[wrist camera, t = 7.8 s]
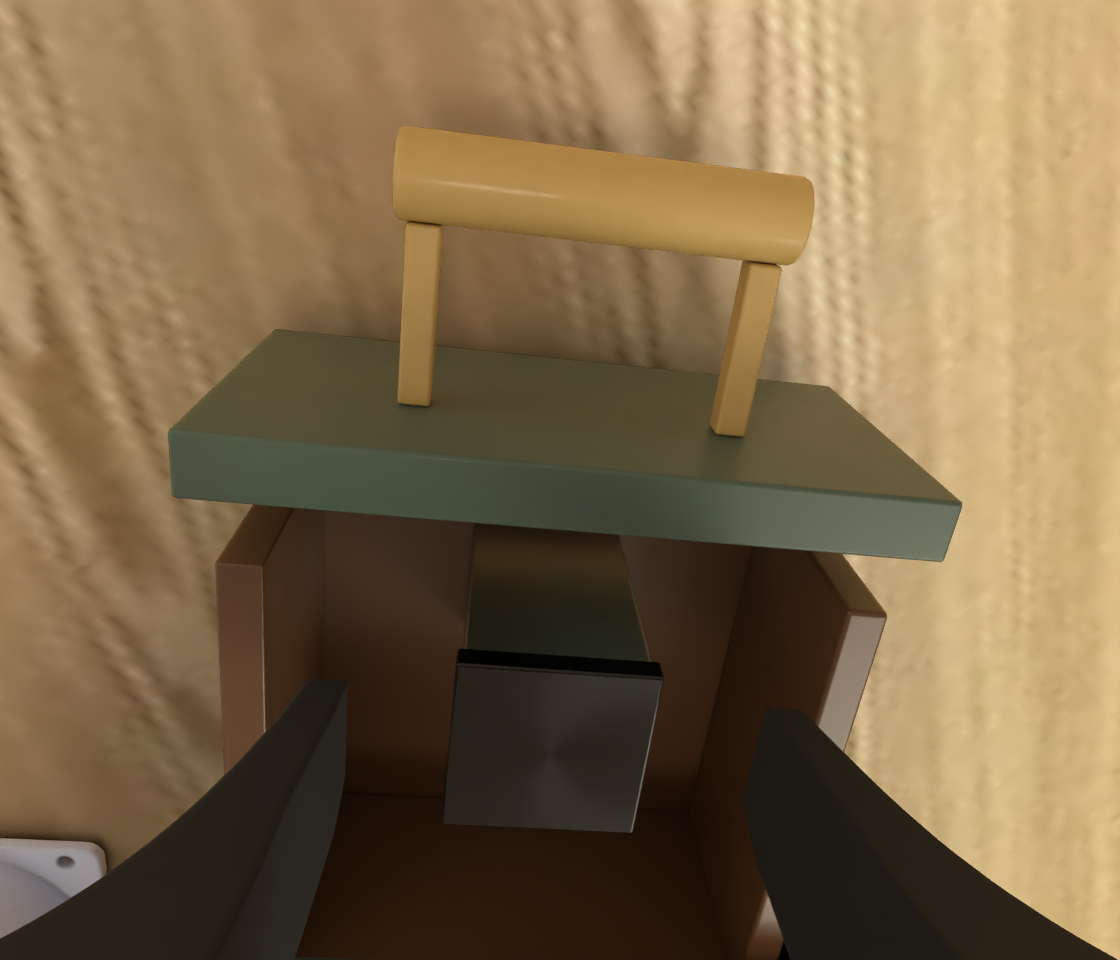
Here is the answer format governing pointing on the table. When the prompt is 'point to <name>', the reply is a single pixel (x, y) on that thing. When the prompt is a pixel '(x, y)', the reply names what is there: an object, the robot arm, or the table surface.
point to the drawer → (561, 504)
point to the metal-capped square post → (550, 685)
